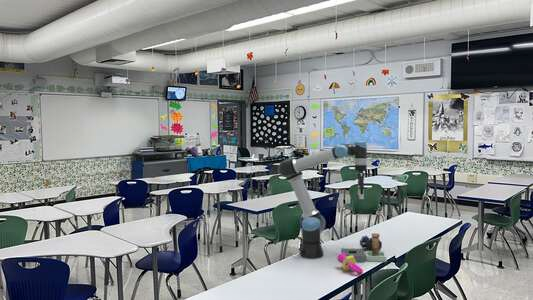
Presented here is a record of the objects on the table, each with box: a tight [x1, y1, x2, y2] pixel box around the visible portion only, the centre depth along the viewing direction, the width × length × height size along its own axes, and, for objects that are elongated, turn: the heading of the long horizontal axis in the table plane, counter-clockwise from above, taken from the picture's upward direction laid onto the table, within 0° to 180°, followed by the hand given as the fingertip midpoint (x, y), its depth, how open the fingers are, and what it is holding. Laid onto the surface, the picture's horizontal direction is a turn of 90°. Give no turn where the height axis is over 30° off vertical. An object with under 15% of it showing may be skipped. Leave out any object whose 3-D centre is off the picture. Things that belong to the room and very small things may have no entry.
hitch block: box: [340, 247, 366, 263], centre depth 261 cm, size 14×14×4 cm
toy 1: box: [337, 252, 364, 274], centre depth 240 cm, size 10×18×10 cm, turn 36°
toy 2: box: [359, 235, 383, 251], centre depth 276 cm, size 9×9×15 cm
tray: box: [364, 250, 388, 263], centre depth 259 cm, size 12×10×3 cm
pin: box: [371, 232, 380, 256], centre depth 258 cm, size 5×5×15 cm
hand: (360, 197), depth 269 cm, fingers open, 13 cm apart
